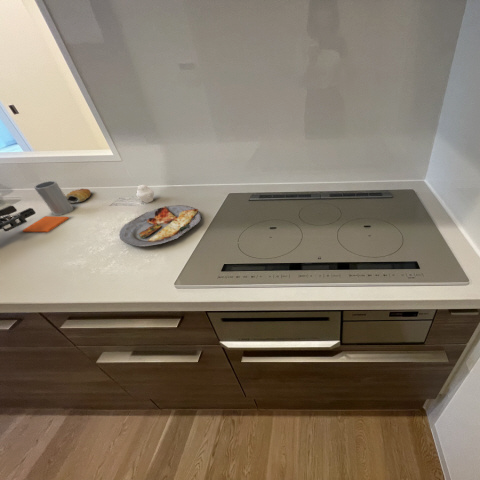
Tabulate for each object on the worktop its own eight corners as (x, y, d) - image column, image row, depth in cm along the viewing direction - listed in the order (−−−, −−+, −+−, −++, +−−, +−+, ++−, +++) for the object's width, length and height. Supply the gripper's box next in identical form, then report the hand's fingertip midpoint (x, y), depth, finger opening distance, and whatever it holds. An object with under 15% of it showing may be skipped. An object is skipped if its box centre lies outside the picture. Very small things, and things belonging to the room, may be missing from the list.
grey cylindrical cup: (49, 215, 100) (29, 188, 93) (62, 206, 104) (44, 180, 98) (64, 215, 99) (45, 188, 93) (77, 207, 104) (60, 181, 97)
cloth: (23, 231, 91) (22, 230, 90) (46, 217, 98) (45, 216, 98) (47, 232, 90) (46, 230, 90) (69, 218, 98) (68, 216, 97)
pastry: (79, 193, 113) (74, 185, 111) (96, 192, 114) (91, 184, 112) (65, 204, 106) (60, 195, 104) (84, 203, 107) (78, 194, 104)
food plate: (166, 205, 104) (163, 197, 101) (215, 215, 97) (213, 207, 95) (106, 242, 85) (100, 233, 83) (162, 257, 78) (158, 248, 76)
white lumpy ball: (136, 202, 106) (129, 186, 102) (151, 196, 110) (144, 180, 106) (145, 206, 104) (137, 189, 99) (160, 199, 108) (153, 183, 104)
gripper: (-30, 228, 74) (32, 201, 87) (-65, 223, 77) (0, 197, 89) (-9, 249, 79) (47, 220, 91) (-43, 243, 81) (15, 216, 94)
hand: (23, 209), depth 90 cm, fingers open, 8 cm apart
